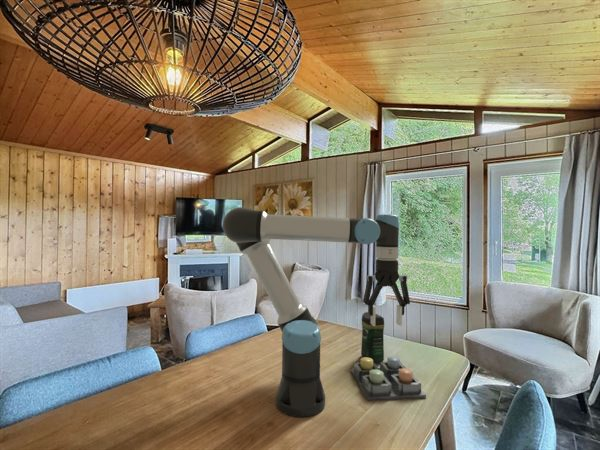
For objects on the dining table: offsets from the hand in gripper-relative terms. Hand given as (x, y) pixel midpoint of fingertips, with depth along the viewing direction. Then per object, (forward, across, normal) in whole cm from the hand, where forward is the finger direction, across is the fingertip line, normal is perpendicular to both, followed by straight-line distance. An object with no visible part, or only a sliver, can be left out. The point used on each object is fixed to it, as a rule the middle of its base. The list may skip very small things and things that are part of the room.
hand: (386, 324), depth 110 cm
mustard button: (+17, -5, +5) cm, 18 cm away
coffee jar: (+21, +2, +20) cm, 29 cm away
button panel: (+20, 0, 0) cm, 20 cm away
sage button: (+17, -5, -5) cm, 18 cm away
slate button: (+17, +5, +5) cm, 18 cm away
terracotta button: (+17, +5, -5) cm, 18 cm away
